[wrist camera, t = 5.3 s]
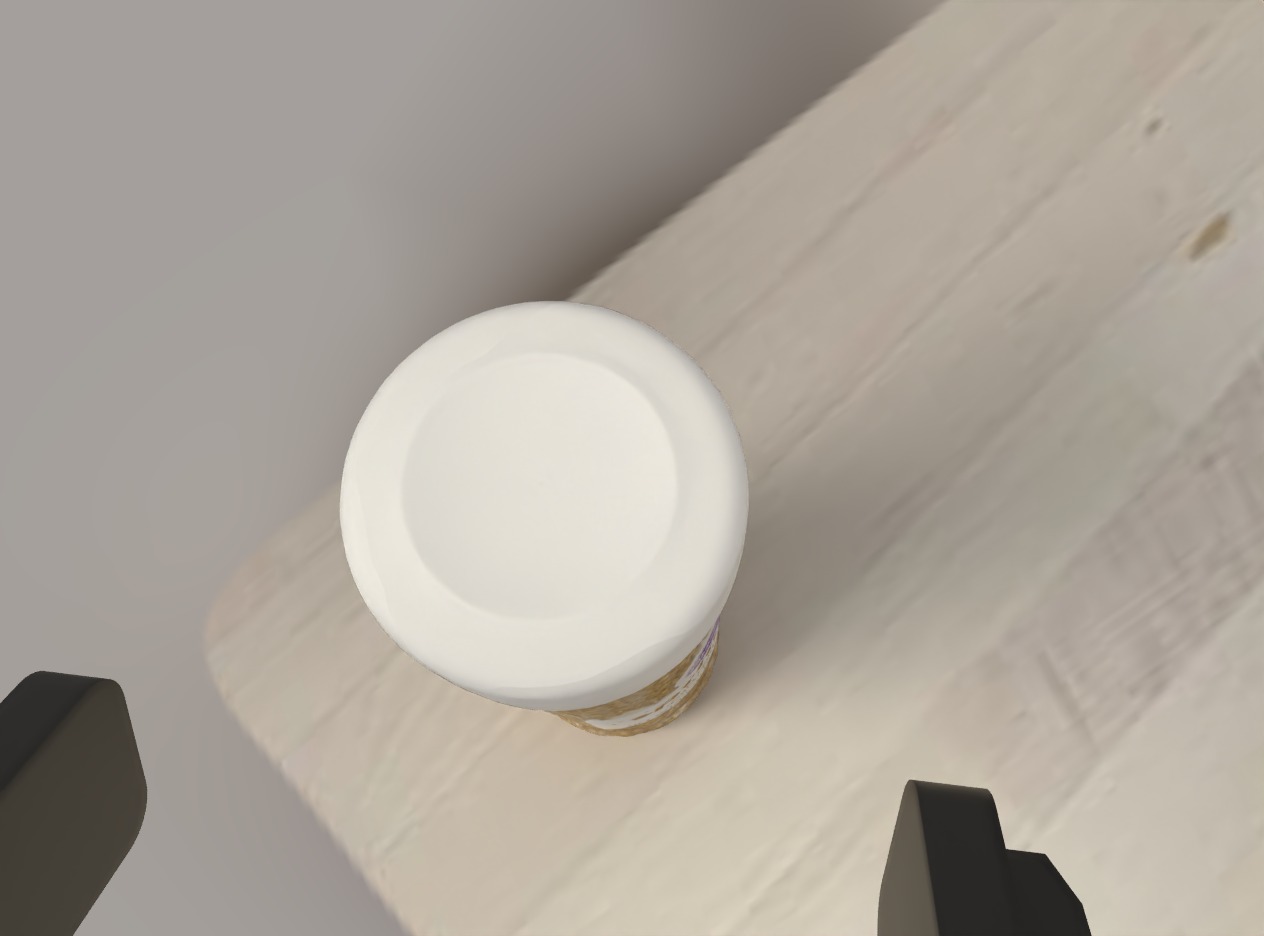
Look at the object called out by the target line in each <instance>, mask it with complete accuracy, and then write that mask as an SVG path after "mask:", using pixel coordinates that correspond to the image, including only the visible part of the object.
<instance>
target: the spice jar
mask: <svg viewBox="0 0 1264 936" xmlns="http://www.w3.org/2000/svg"><path fill="white" fill-rule="evenodd" d="M748 510H749V483H748V472H747V466H746V461H745V455H744V451H743V447H742V443H741V438H740V435H739V432H738V430H737V427H736V425H735V423H734V420H733V418H732V415H731V413H730V411H729V408H728V406H727V404H726V402H725V401H724V399H723V397H722V395H721V394H720V392H719V390H718V389H717V387H716V386H715V385H714V383H713V382H712V381H711V379H710V378H709V377H708V376H707V374H706V373H705V372H704V371H703V370H702V368H701V367H700V366H699V365H698V364H697V363H696V362H695V361H694V360H693V359H692V358H691V357H690V356H689V355H688V354H687V353H686V352H685V351H684V350H683V349H682V348H680V347H679V346H678V345H677V344H675V343H674V342H673V341H671V340H670V339H669V338H667V337H666V336H664V335H663V334H661V333H659V332H658V331H656V330H655V329H653V328H652V327H650V326H648V325H646V324H644V323H642V322H640V321H637V320H635V319H633V318H631V317H629V316H627V315H624V314H621V313H619V312H616V311H614V310H611V309H608V308H604V307H601V306H595V305H587V304H582V303H575V302H567V301H537V302H526V303H519V304H513V305H508V306H503V307H498V308H495V309H492V310H488V311H485V312H482V313H479V314H477V315H474V316H472V317H469V318H467V319H464V320H461V321H459V322H458V323H456V324H454V325H452V326H450V327H448V328H447V329H445V330H443V331H442V332H440V333H438V334H436V335H435V336H433V337H432V338H431V339H429V340H428V341H427V342H425V343H424V344H423V345H421V346H420V347H419V348H417V349H416V350H415V351H414V352H412V353H411V354H410V355H409V356H408V357H407V358H406V359H405V360H404V361H402V362H401V363H400V364H399V365H398V366H397V367H396V369H395V370H394V371H393V372H392V373H391V374H390V375H389V376H388V378H387V379H386V380H385V381H384V382H383V384H382V385H381V387H380V388H379V389H378V391H377V393H376V394H375V395H374V397H373V398H372V400H371V401H370V403H369V405H368V406H367V408H366V410H365V412H364V414H363V416H362V418H361V419H360V421H359V423H358V425H357V428H356V430H355V432H354V434H353V437H352V439H351V443H350V447H349V450H348V453H347V455H346V460H345V465H344V470H343V476H342V484H341V495H340V524H341V531H342V537H343V543H344V549H345V554H346V557H347V560H348V564H349V567H350V570H351V573H352V576H353V578H354V581H355V584H356V586H357V588H358V590H359V592H360V594H361V596H362V598H363V600H364V601H365V603H366V605H367V606H368V608H369V610H370V611H371V613H372V614H373V616H374V617H375V619H376V620H377V621H378V623H379V624H380V625H381V627H382V628H383V630H384V631H385V632H386V633H387V634H388V635H389V636H390V637H391V638H392V639H393V640H394V641H395V642H396V643H397V644H398V645H399V646H400V647H401V648H402V649H403V651H405V652H406V653H407V654H409V655H410V656H411V657H412V658H414V659H415V660H416V661H418V662H419V663H420V664H422V665H423V666H424V667H426V668H427V669H429V670H431V671H432V672H434V673H436V674H437V675H439V676H441V677H442V678H444V679H446V680H448V681H449V682H451V683H453V684H455V685H457V686H459V687H461V688H463V689H465V690H467V691H470V692H472V693H475V694H477V695H480V696H482V697H485V698H488V699H490V700H493V701H496V702H499V703H502V704H506V705H510V706H514V707H519V708H525V709H531V710H542V711H545V712H548V713H551V714H554V715H558V716H559V717H560V718H562V719H563V720H565V721H567V722H569V723H570V724H572V725H574V726H576V727H578V728H580V729H582V730H585V731H587V732H590V733H593V734H597V735H603V736H622V737H627V736H633V735H636V734H639V733H645V732H648V731H651V730H654V729H658V728H660V727H663V726H665V725H667V724H668V723H670V722H672V721H673V720H674V719H676V718H677V717H678V716H679V715H680V714H681V713H682V712H684V711H685V710H686V709H687V708H689V707H690V706H691V704H692V703H693V702H694V700H695V699H696V698H697V696H698V695H699V694H700V692H701V691H702V689H703V688H704V686H705V685H706V684H707V682H708V681H709V678H710V676H711V673H712V669H713V665H714V662H715V659H716V657H717V650H718V634H719V631H718V626H719V619H720V614H721V611H722V609H723V607H724V605H725V603H726V601H727V599H728V597H729V594H730V591H731V589H732V586H733V583H734V581H735V578H736V576H737V572H738V569H739V565H740V561H741V557H742V553H743V548H744V542H745V535H746V529H747V520H748Z"/></svg>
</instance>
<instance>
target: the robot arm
mask: <svg viewBox="0 0 1264 936" xmlns="http://www.w3.org/2000/svg"><path fill="white" fill-rule="evenodd" d="M146 804H147V786H146V780H145V776H144V772H143V768H142V765H141V760H140V757H139V752H138V749H137V745H136V740H135V736H134V732H133V729H132V725H131V720H130V717H129V713H128V709H127V705H126V701H125V697H124V694H123V691H122V689H121V687H120V685H119V684H118V683H117V682H115V681H114V680H111V679H104V678H96V677H87V676H79V675H71V674H63V673H55V672H46V671H39V672H35V673H33V674H30V675H29V676H27V677H26V678H25V679H23V680H22V681H21V682H20V683H19V684H18V685H17V686H16V687H15V689H14V690H13V691H12V692H11V693H10V694H9V695H8V696H7V697H6V698H5V699H4V700H3V701H2V702H1V703H0V936H73V934H74V933H75V931H76V930H77V928H78V927H79V925H80V924H81V922H82V921H83V919H84V918H85V916H86V915H87V913H88V912H89V910H90V909H91V907H92V906H93V904H94V903H95V901H96V900H97V898H98V897H99V895H100V894H101V893H102V891H103V890H104V888H105V887H106V885H107V884H108V882H109V880H110V879H111V878H112V876H113V874H114V873H115V871H116V870H117V868H118V867H119V865H120V864H121V863H122V861H123V859H124V858H125V857H126V855H127V854H128V852H129V851H130V849H131V847H132V846H133V844H134V842H135V840H136V838H137V836H138V834H139V831H140V829H141V826H142V822H143V819H144V815H145V811H146ZM878 936H1091V932H1090V929H1089V925H1088V922H1087V919H1086V915H1085V912H1084V909H1083V905H1082V903H1081V902H1080V901H1079V899H1078V898H1077V896H1076V895H1075V894H1074V892H1073V891H1072V890H1071V888H1070V887H1069V886H1068V884H1067V883H1066V881H1065V880H1064V879H1063V877H1062V876H1061V875H1060V873H1059V872H1058V871H1057V869H1056V868H1055V867H1054V865H1053V864H1052V862H1051V861H1050V860H1049V858H1048V857H1047V856H1046V854H1041V853H1033V852H1025V851H1017V850H1009V849H1006V848H1005V843H1004V839H1003V835H1002V831H1001V826H1000V822H999V818H998V813H997V809H996V805H995V802H994V799H993V796H992V794H991V793H990V791H989V790H988V789H983V788H974V787H966V786H958V785H950V784H942V783H933V782H925V781H917V780H909V781H908V782H907V784H906V786H905V789H904V793H903V796H902V800H901V805H900V809H899V813H898V817H897V821H896V825H895V830H894V834H893V838H892V842H891V846H890V850H889V854H888V859H887V863H886V867H885V871H884V875H883V879H882V884H881V890H880V897H879V907H878Z"/></svg>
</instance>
